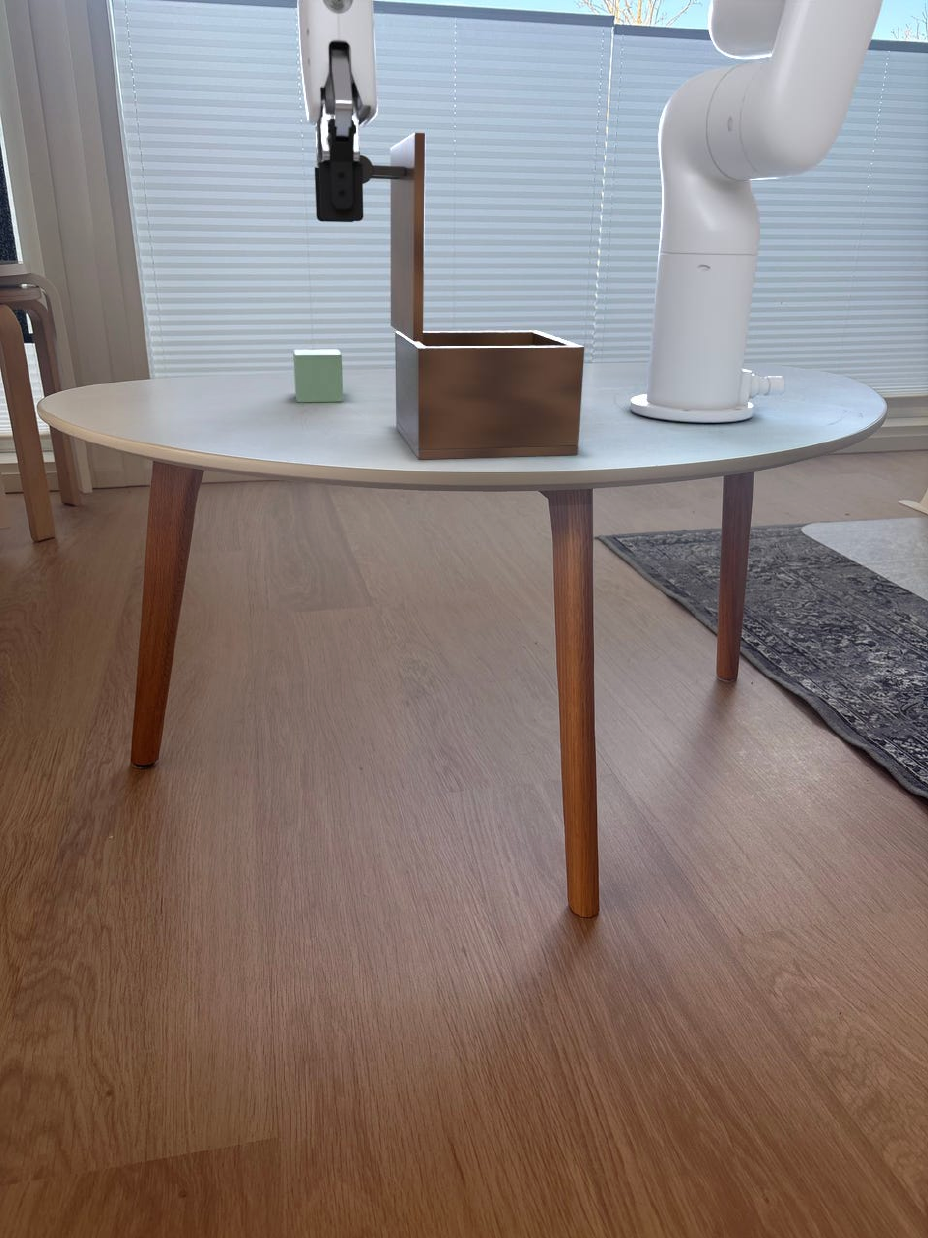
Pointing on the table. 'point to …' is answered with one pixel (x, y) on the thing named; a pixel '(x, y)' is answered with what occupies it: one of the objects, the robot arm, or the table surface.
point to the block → (318, 375)
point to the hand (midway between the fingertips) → (339, 218)
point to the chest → (488, 394)
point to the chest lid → (405, 231)
